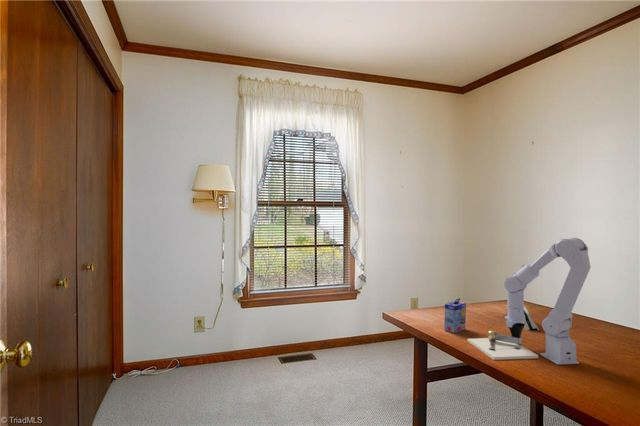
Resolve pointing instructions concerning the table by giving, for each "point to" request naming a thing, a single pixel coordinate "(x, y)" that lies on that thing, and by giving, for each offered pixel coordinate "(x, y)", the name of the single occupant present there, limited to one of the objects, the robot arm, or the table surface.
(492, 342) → the divider fixed leg
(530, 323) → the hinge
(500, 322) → the table surface
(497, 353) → the plate
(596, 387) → the table surface
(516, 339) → the divider leg
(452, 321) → the ink cartridge box
